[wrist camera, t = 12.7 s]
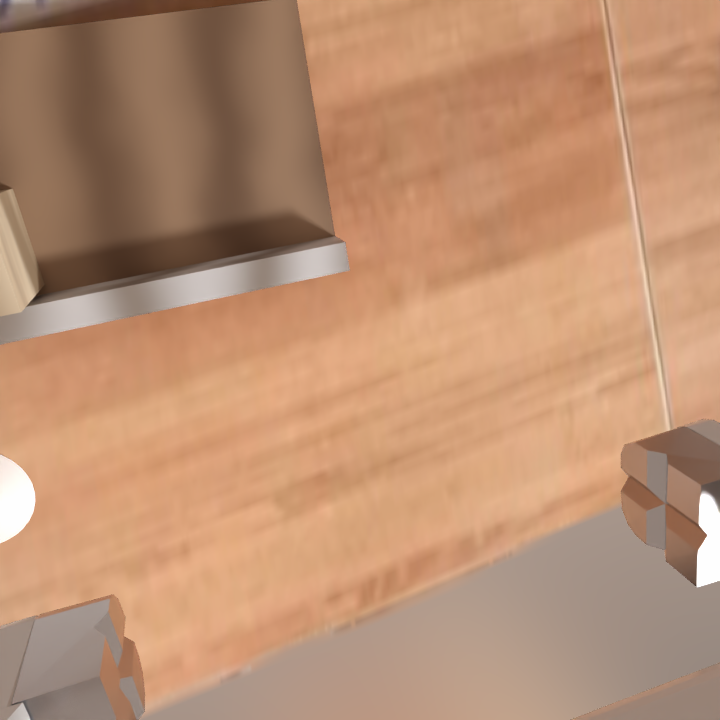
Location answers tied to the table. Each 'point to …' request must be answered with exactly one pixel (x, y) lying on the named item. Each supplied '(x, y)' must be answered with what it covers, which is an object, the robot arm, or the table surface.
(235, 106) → the walnut board
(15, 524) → the champagne flute
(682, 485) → the robot arm
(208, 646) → the table surface
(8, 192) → the marking gauge
